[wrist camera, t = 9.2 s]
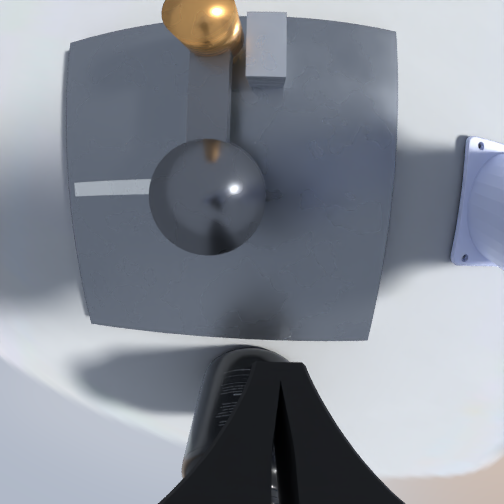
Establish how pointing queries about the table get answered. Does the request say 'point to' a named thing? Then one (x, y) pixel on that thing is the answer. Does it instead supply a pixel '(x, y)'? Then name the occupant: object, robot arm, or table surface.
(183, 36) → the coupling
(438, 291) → the table surface
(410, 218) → the table surface
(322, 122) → the base
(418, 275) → the table surface
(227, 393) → the supplement bottle
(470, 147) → the robot arm
